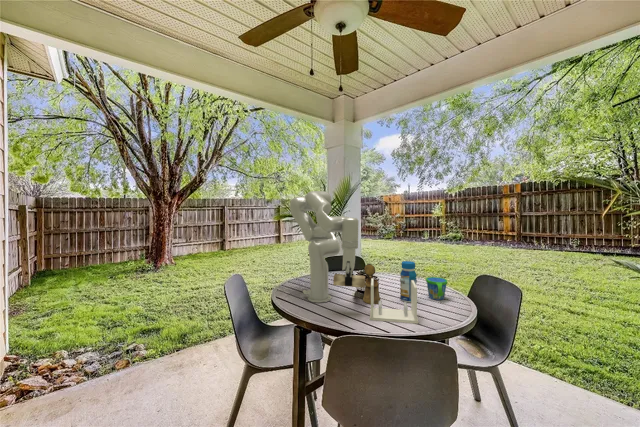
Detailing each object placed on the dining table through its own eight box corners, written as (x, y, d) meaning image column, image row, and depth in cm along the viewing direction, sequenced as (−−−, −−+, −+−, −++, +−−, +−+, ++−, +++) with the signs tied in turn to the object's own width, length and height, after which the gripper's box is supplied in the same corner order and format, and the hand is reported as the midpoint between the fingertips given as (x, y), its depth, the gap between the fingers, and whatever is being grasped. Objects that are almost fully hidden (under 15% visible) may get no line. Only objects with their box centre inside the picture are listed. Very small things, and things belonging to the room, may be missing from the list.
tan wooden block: (333, 285, 129) (333, 276, 128) (335, 282, 134) (335, 273, 133) (364, 287, 126) (364, 278, 126) (364, 284, 131) (365, 275, 130)
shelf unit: (369, 320, 122) (369, 285, 121) (370, 310, 133) (370, 278, 133) (418, 323, 118) (418, 287, 117) (414, 313, 129) (414, 280, 129)
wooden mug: (377, 295, 155) (377, 263, 154) (382, 304, 141) (382, 268, 141) (361, 295, 155) (361, 263, 155) (364, 304, 141) (364, 268, 141)
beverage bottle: (417, 303, 142) (418, 264, 142) (400, 302, 144) (400, 263, 143) (415, 298, 150) (415, 260, 150) (399, 297, 152) (399, 260, 152)
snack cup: (449, 304, 141) (449, 283, 141) (427, 302, 144) (427, 282, 144) (444, 294, 156) (444, 276, 156) (424, 293, 159) (424, 275, 159)
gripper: (343, 241, 138) (343, 278, 139) (339, 247, 121) (338, 289, 122) (359, 242, 136) (358, 279, 137) (356, 248, 120) (355, 290, 121)
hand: (349, 283), depth 130 cm, fingers closed on tan wooden block, 5 cm apart
